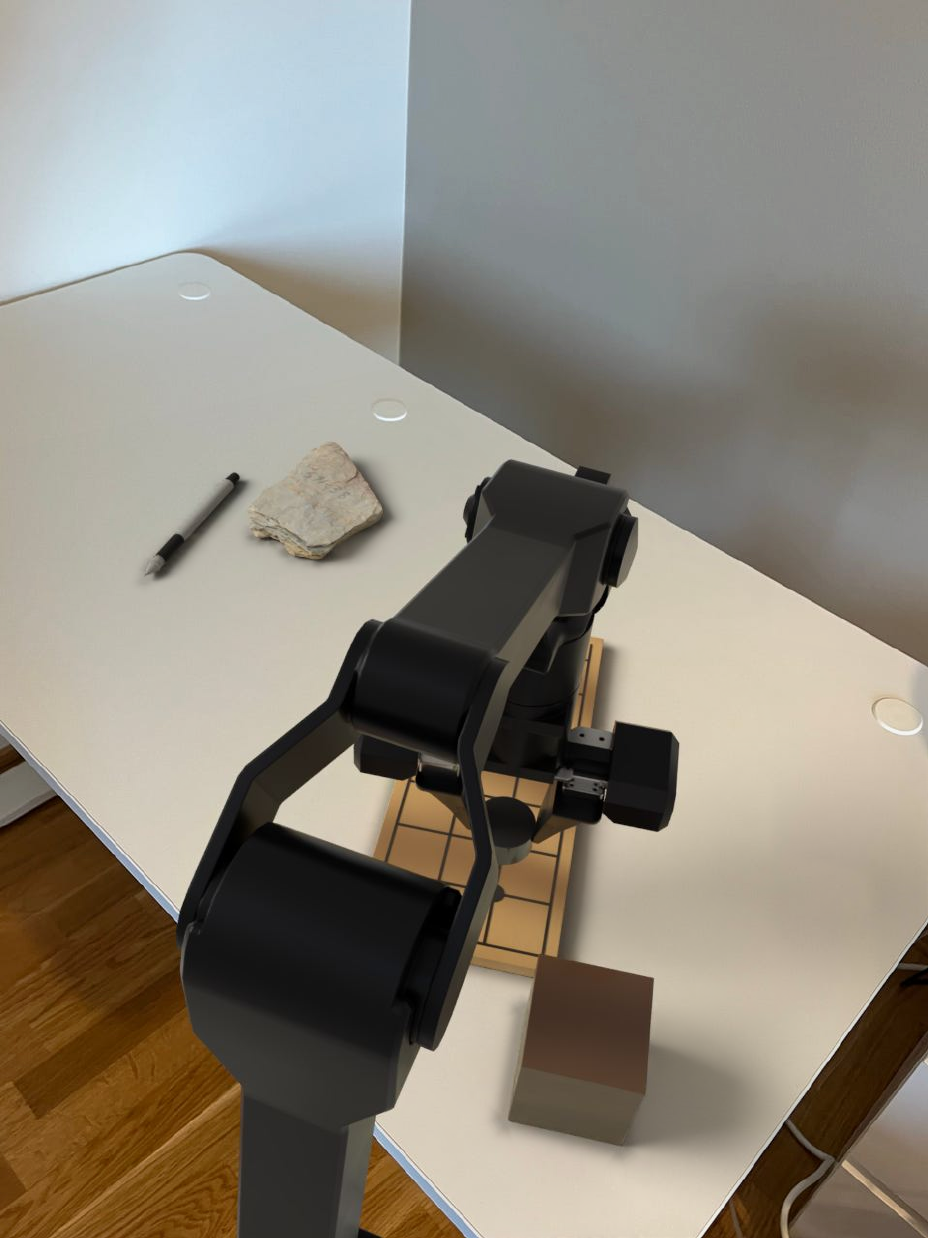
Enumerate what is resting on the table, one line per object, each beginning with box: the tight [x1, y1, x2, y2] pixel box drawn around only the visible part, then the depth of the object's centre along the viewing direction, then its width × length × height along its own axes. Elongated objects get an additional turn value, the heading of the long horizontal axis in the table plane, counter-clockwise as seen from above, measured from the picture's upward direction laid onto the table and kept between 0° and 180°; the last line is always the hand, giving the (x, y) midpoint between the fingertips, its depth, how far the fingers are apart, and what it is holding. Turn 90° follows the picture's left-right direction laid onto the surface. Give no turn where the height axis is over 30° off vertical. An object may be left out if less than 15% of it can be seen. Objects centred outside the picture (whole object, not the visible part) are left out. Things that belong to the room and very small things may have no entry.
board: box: [372, 636, 605, 978], centre depth 83 cm, size 32×14×1 cm, turn 169°
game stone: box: [472, 796, 536, 865], centre depth 69 cm, size 4×4×2 cm
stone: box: [246, 441, 384, 560], centre depth 104 cm, size 15×11×3 cm
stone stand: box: [507, 954, 655, 1147], centre depth 64 cm, size 7×7×8 cm
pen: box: [144, 471, 241, 576], centre depth 102 cm, size 1×16×1 cm, turn 159°
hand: (504, 830), depth 69 cm, fingers closed on game stone, 4 cm apart
